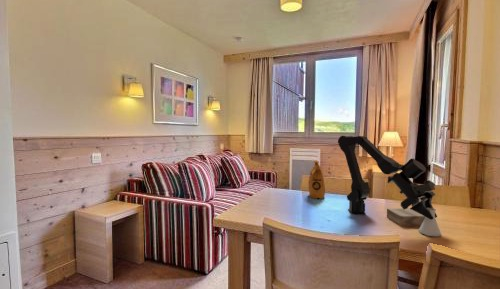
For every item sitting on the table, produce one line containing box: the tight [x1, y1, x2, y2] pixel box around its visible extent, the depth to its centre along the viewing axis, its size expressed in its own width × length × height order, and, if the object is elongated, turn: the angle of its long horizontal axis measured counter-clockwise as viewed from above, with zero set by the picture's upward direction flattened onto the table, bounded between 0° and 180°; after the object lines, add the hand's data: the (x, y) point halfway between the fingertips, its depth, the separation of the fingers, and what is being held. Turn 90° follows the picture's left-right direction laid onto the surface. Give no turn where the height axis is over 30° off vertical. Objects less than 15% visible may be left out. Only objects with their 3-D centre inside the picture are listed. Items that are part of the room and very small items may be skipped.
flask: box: [418, 207, 442, 237], centre depth 103 cm, size 7×7×10 cm
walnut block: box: [386, 208, 425, 226], centre depth 118 cm, size 11×11×4 cm
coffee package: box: [308, 159, 326, 199], centre depth 161 cm, size 10×12×22 cm
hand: (434, 218), depth 102 cm, fingers closed on flask, 3 cm apart
